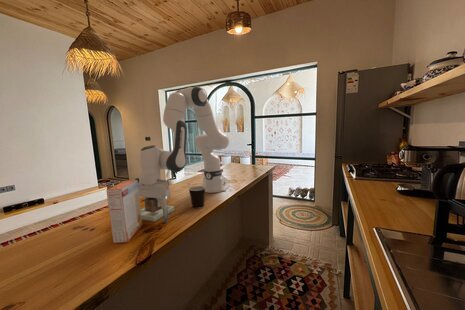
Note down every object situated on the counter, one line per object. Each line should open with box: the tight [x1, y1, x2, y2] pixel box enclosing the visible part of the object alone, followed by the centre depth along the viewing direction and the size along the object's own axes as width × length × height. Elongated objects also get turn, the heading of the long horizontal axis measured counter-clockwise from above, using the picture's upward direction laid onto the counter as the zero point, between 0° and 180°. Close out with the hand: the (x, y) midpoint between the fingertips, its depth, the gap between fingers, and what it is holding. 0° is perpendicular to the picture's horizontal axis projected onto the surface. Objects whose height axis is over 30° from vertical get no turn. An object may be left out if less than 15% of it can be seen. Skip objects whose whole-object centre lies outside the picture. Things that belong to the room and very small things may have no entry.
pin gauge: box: [161, 196, 169, 224], centre depth 90 cm, size 2×2×12 cm
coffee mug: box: [188, 185, 206, 209], centre depth 110 cm, size 12×9×10 cm
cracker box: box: [106, 179, 143, 244], centre depth 80 cm, size 14×6×21 cm, turn 3°
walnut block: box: [143, 198, 162, 213], centre depth 99 cm, size 5×5×6 cm
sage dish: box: [141, 204, 175, 223], centre depth 100 cm, size 14×14×2 cm
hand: (153, 205), depth 99 cm, fingers closed on walnut block, 5 cm apart
